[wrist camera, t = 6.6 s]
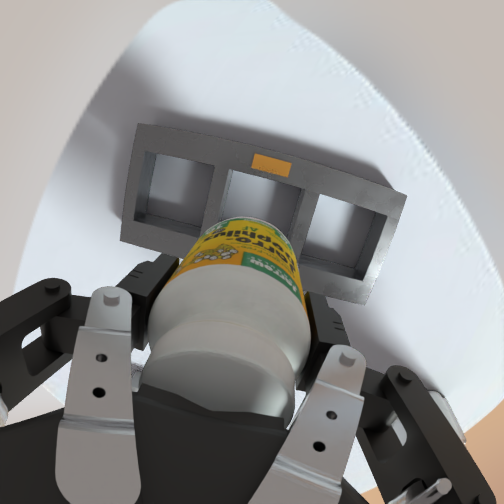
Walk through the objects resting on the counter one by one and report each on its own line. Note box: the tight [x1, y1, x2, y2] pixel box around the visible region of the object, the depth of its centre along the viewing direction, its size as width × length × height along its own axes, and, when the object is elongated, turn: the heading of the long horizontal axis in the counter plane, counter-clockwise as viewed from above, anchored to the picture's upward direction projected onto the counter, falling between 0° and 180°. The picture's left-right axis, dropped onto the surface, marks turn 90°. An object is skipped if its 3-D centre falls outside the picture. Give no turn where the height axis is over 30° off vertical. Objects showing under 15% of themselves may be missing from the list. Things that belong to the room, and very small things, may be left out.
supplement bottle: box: [139, 217, 311, 429], centre depth 11 cm, size 5×5×10 cm
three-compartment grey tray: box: [120, 123, 407, 305], centre depth 26 cm, size 24×11×3 cm, turn 76°
